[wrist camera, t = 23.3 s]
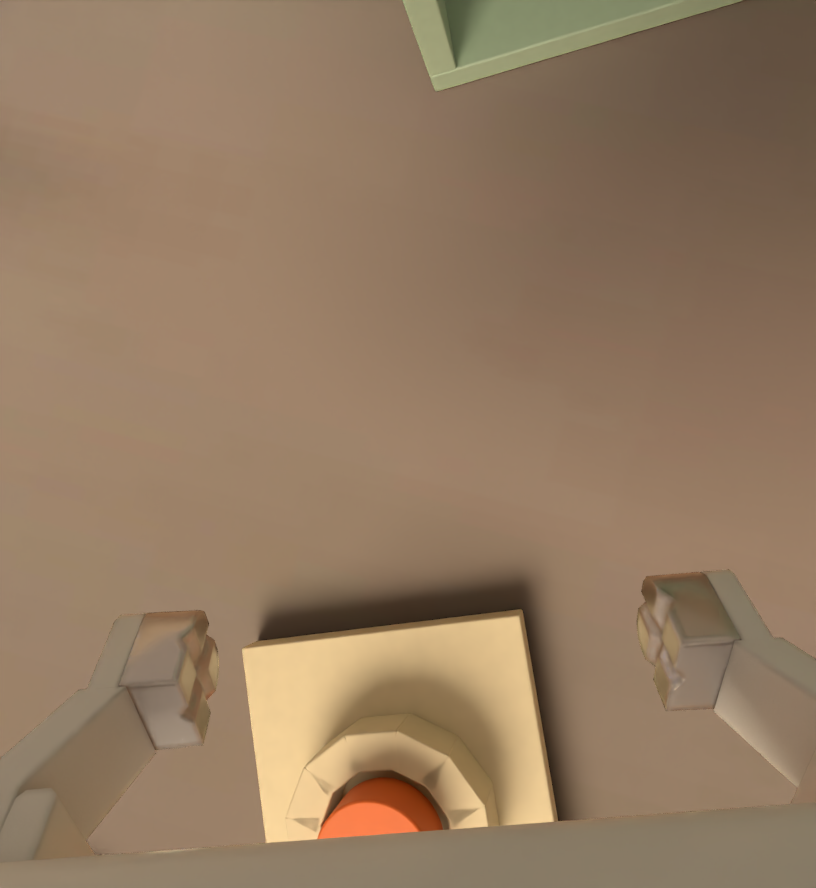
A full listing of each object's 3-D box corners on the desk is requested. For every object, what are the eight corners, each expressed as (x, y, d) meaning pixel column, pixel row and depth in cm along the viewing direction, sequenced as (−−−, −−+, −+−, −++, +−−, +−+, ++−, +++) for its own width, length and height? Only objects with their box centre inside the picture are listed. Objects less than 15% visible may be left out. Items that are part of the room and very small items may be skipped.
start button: (342, 898, 22) (322, 932, 20) (326, 780, 22) (305, 803, 20) (454, 895, 21) (443, 930, 19) (435, 772, 21) (423, 796, 20)
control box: (299, 983, 25) (262, 1049, 22) (256, 641, 26) (215, 659, 23) (585, 983, 22) (587, 1056, 19) (522, 608, 24) (514, 624, 21)
